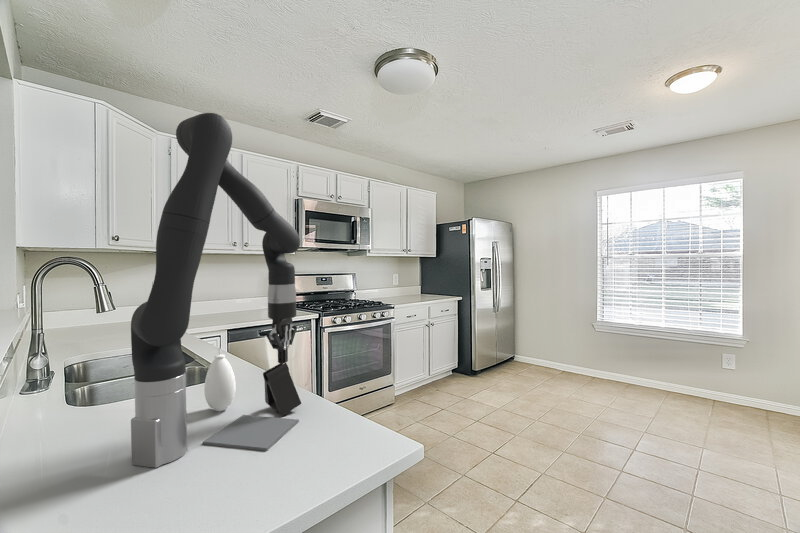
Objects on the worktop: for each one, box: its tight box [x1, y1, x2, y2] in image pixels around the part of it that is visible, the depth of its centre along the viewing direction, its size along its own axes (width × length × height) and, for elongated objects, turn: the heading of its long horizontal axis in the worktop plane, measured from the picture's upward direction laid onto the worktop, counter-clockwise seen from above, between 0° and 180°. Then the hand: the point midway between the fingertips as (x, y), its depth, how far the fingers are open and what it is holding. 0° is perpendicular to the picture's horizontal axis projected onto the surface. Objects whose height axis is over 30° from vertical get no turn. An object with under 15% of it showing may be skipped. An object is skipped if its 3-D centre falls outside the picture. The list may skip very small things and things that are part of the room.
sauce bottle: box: [203, 345, 237, 413], centre depth 105 cm, size 8×8×18 cm
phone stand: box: [262, 362, 302, 417], centre depth 103 cm, size 9×6×12 cm, turn 48°
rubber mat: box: [202, 414, 300, 452], centre depth 91 cm, size 15×16×1 cm
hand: (283, 362), depth 105 cm, fingers closed
